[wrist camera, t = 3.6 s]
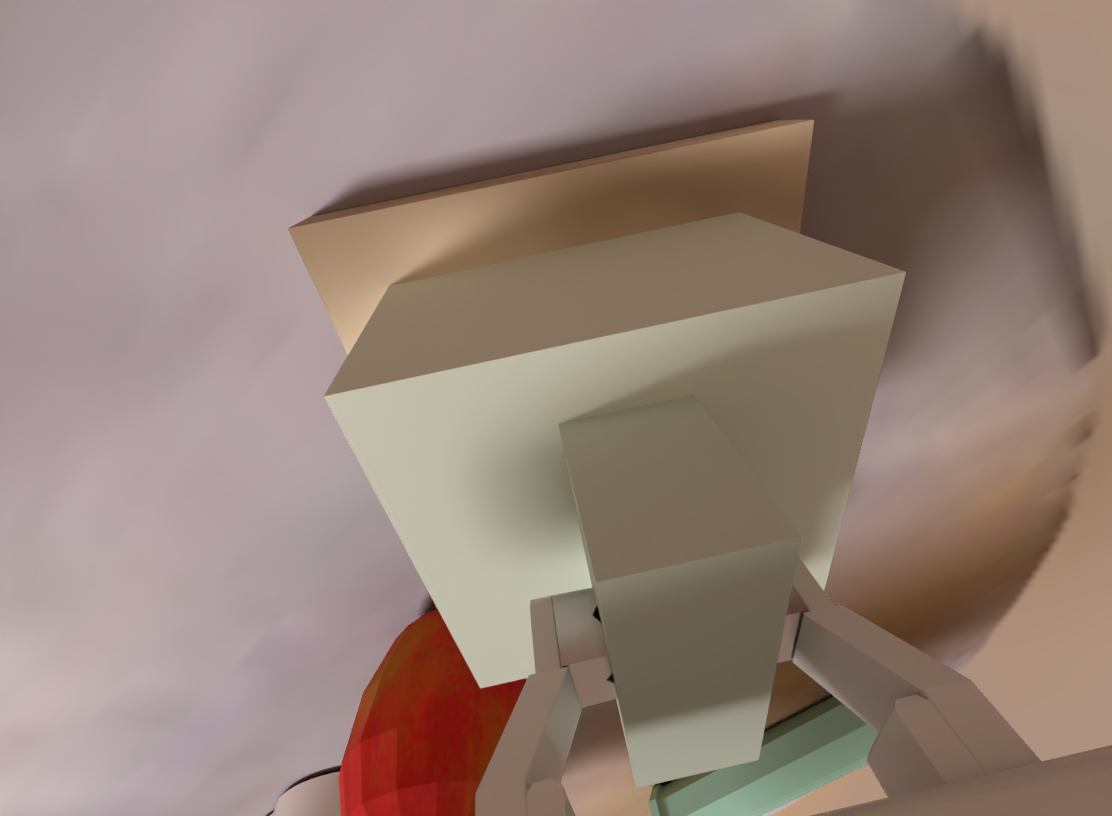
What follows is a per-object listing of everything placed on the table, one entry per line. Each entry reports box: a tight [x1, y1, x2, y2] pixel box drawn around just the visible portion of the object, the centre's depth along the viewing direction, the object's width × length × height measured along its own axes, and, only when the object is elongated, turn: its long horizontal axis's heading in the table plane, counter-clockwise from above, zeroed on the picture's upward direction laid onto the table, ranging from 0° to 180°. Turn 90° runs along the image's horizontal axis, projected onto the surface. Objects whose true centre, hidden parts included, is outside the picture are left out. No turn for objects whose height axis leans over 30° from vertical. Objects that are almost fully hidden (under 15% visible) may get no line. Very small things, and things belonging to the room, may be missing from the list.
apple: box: [338, 608, 526, 816], centre depth 22 cm, size 9×9×12 cm
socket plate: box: [288, 120, 814, 355], centre depth 18 cm, size 16×16×4 cm
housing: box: [324, 212, 906, 788], centre depth 13 cm, size 12×12×11 cm
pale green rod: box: [649, 696, 878, 816], centre depth 41 cm, size 6×6×25 cm
